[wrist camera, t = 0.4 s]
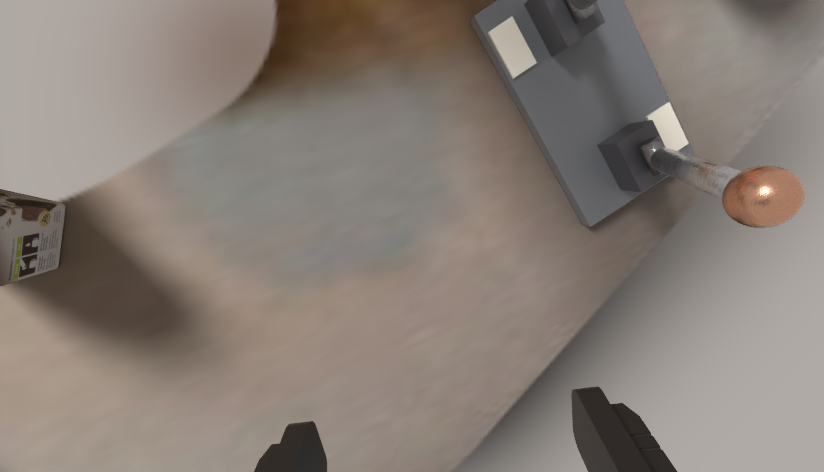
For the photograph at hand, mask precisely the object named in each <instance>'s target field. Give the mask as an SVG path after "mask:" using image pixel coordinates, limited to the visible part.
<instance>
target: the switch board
mask: <svg viewBox="0 0 824 472" xmlns="http://www.w3.org/2000/svg"><path fill="white" fill-rule="evenodd" d="M595 4H596V6H597V8H598V11H596V12H595V13H593V14H592V15H590V16H589V17H587V18H586V19H584V20H583V21H581V22H580V23H578V24H577V22H576V20H575V18H574V16H573V13H572V11H571V9H570V7H569V5H568V3H567V1H566V0H497V1H495V2H494V3H492V4H491V5H489V6H488V7H486V8H485V9H483V10H482V11H480V12H479V13H477V14H476V15H474V16H473V18H472V19H471V21H470V23H471V25H472V27H473V29H474V30H475V32H476V34H477V36H478V38H479V39H480V41H481V43H482V45H483V47H484V48H485V50H486V52H487V54H488V56H489V57H490V59H491V61H492V63H493V65H494V66H495V68H496V70H497V72H498V74H499V75H500V77H501V79H502V81H503V83H504V84H505V86H506V88H507V90H508V92H509V93H510V95H511V97H512V99H513V101H514V102H515V104H516V106H517V108H518V110H519V111H520V113H521V115H522V117H523V119H524V120H525V122H526V124H527V126H528V128H529V129H530V131H531V133H532V135H533V137H534V138H535V140H536V142H537V144H538V146H539V147H540V149H541V151H542V153H543V155H544V156H545V158H546V160H547V162H548V164H549V165H550V167H551V169H552V171H553V173H554V174H555V176H556V178H557V180H558V182H559V184H560V185H561V187H562V189H563V191H564V193H565V194H566V196H567V198H568V200H569V202H570V203H571V205H572V207H573V209H574V211H575V212H576V214H577V216H578V218H579V220H580V221H581V223H582V225H585V226H588V227H592V226H593V225H595V224H596V223H598V222H599V221H601V220H602V219H604V218H605V217H607V216H608V215H610V214H612V213H613V212H615V211H616V210H618V209H619V208H621V207H622V206H624V205H625V204H627V203H628V202H630V201H631V200H633V199H635V198H636V197H638V196H639V195H641V194H642V193H644V192H645V191H647V190H648V189H650V188H651V187H653V186H655V185H656V184H658V183H659V182H661V181H662V180H664V179H665V178H667V177H668V176H669V175H667V174H662V175H658V176H653V175H652V173H651V171H650V169H649V167H648V165H647V163H646V161H645V159H644V157H643V155H642V153H641V151H640V149H639V147H638V146H639V145H640V144H641V143H642V142H644V141H646V140H648V139H650V138H653V137H660V140H661V142H662V144H663V146H664V148H669V149H672V150H676V151H679V152H682V153H685V154H688V155H692V156H695V154H694V152H693V150H692V147H691V145H690V143H689V141H688V139H687V137H686V134H685V132H684V130H683V128H682V126H681V124H680V122H679V119H678V117H677V115H676V113H675V111H674V109H673V106H672V104H671V102H670V100H669V98H668V96H667V93H666V91H665V89H664V87H663V85H662V83H661V81H660V78H659V76H658V74H657V72H656V70H655V68H654V65H653V63H652V61H651V59H650V57H649V55H648V53H647V50H646V48H645V46H644V44H643V42H642V40H641V37H640V35H639V33H638V31H637V29H636V27H635V24H634V22H633V20H632V18H631V16H630V14H629V12H628V9H627V7H626V5H625V3H624V1H623V0H598V1H597V2H596V3H595ZM695 157H696V156H695Z"/></svg>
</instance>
